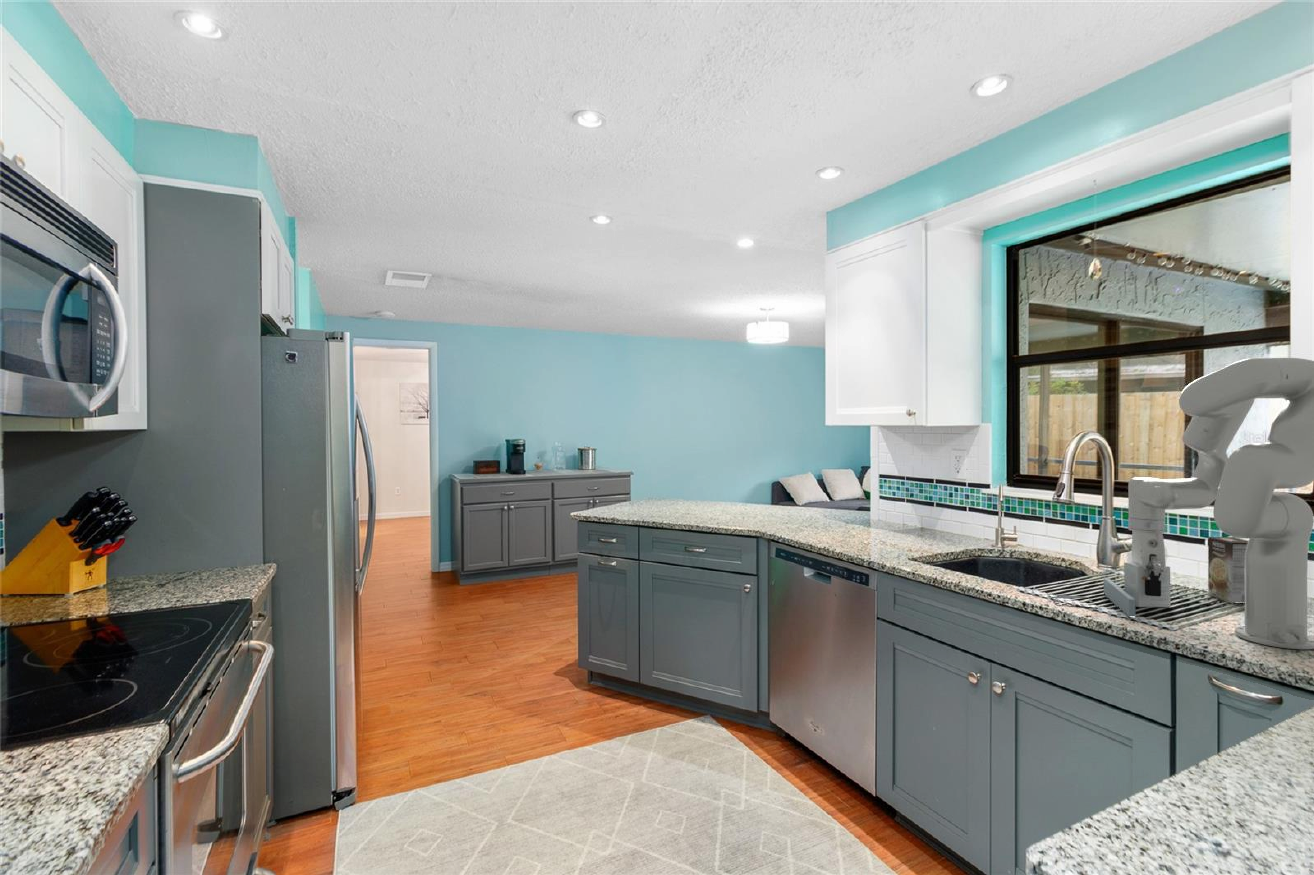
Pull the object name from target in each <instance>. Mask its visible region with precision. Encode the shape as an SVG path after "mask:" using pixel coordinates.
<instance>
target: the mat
mask: <svg viewBox="0 0 1314 875" xmlns="http://www.w3.org/2000/svg"><path fill="white" fill-rule="evenodd" d="M1052 598H1089V597H1088V596H1079V595H1068V594H1066V595H1065V594H1057V597H1052ZM1052 598H1051V599H1052ZM1053 600H1054V601H1053ZM1053 600H1052V601H1053V603H1055V602H1062V601H1058V600H1055V599H1053ZM1089 602H1093V600H1091V598H1089ZM1056 604H1059V603H1056ZM1056 604H1055V605H1056ZM1062 605H1067V604H1062ZM1073 606H1074V605H1073ZM1073 606H1072V607H1073Z"/></svg>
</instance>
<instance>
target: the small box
mask: <svg viewBox="0 0 1314 875" xmlns="http://www.w3.org/2000/svg"><path fill="white" fill-rule="evenodd" d="M1165 567H1166V570H1165V571H1164V572H1161V570H1160V573H1161V575H1160V576H1161V596H1160V597H1159V596H1147V595H1145V579H1146V575H1145V571H1144V570H1142V569H1141V566H1140V565H1138V564H1137V563H1135V562H1132V561H1131V562H1130V561H1127V562H1126V561H1124V563H1123V572H1124V573H1123V574H1124V575H1123V577H1124V578H1123V583H1124V584H1123V586H1124V588H1123V590H1124V591H1125V592H1126V593H1128V594H1129V595H1130V596H1131V597H1133V598H1134V599H1135V607H1138V608H1171V606H1172V604H1171V603H1172V602H1171V567H1170V566H1169V565H1166V564H1165ZM1147 568H1150V567H1147ZM1150 573H1151V572H1149V574H1150Z"/></svg>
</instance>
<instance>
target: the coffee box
mask: <svg viewBox="0 0 1314 875" xmlns="http://www.w3.org/2000/svg"><path fill="white" fill-rule="evenodd" d="M1207 537H1208V538H1207V542H1208V545H1207V546H1208V549H1207V550H1208V552H1207V553H1208V555H1207V556H1208V557H1207V558H1208V559H1207V563H1208V564H1207V565H1208V566H1207V567H1208V568H1207V572H1208V573H1207V578H1208V580H1207V582H1208V584H1207V586H1208V587H1207V588H1208V589H1207V590H1208V591H1207V594H1209V596H1210V597H1214V598H1216V599H1218V598H1219V600H1222V601H1223V602H1227V603H1229V602H1231V603H1230V604H1233V602H1234V603H1235V602H1242V603H1243V602H1245V579H1244V568H1245V550H1246V546H1247V543H1248V541H1249V540H1247V539H1244V538H1236V537H1232V536H1207Z"/></svg>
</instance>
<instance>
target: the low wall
mask: <svg viewBox="0 0 1314 875" xmlns="http://www.w3.org/2000/svg"><path fill="white" fill-rule="evenodd" d="M1104 594H1105V595H1106V596H1105V595H1104ZM1103 595H1104V596H1105V597H1106V598H1107V599H1108V598H1109V599H1110V600H1109V599H1108V600H1109V601H1110V602H1112V603H1113V604H1114V605H1115V606H1116V607H1117V608H1118V607H1119V608H1120V609H1121V610H1122V611H1123V612H1125V613H1126V614H1127V615H1128V616H1135V617H1136V606H1135V599H1134V598H1133V597H1131V596H1130V595H1129V594H1128V593H1126V592H1125V591H1124V588H1122V587H1121V586H1120V585H1118V584H1117V583H1116V582H1114V581H1113V580H1111V578H1108V577H1103ZM1119 608H1118V609H1119ZM1120 609H1119V610H1120ZM1121 610H1120V611H1121ZM1122 611H1121V612H1122ZM1123 612H1122V613H1123ZM1125 613H1124V614H1125ZM1126 614H1125V615H1126ZM1127 615H1126V616H1127ZM1128 616H1127V617H1128Z"/></svg>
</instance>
